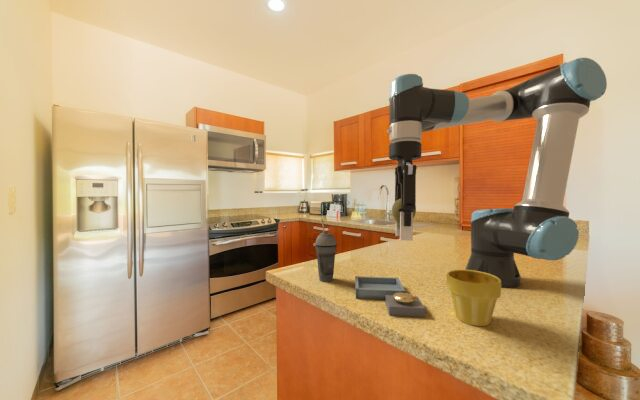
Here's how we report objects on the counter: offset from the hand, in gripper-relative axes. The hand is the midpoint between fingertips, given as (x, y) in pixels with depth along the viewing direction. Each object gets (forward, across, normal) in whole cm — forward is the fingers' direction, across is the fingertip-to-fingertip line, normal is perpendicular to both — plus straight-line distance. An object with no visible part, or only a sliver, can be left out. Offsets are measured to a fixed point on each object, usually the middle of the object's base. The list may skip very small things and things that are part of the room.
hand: (403, 237), depth 62 cm
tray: (+17, -10, -5) cm, 21 cm away
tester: (+17, 0, 0) cm, 17 cm away
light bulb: (+1, 0, 0) cm, 1 cm away
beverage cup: (+18, -19, -21) cm, 34 cm away
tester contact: (+15, +1, 0) cm, 15 cm away
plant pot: (+17, +4, +14) cm, 23 cm away
